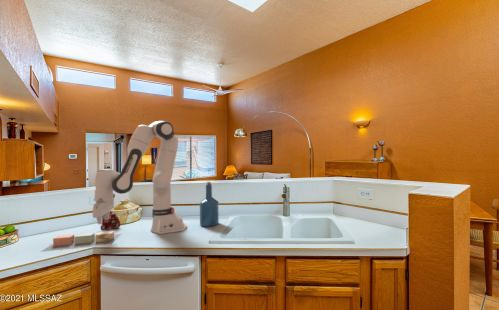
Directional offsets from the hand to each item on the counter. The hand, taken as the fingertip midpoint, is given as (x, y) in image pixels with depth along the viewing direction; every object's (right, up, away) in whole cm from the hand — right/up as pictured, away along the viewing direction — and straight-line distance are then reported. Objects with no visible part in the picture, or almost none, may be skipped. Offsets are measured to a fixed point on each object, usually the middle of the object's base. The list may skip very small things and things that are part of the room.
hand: (103, 221), depth 126 cm
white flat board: (-9, -12, -2) cm, 15 cm away
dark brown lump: (-10, -12, +23) cm, 28 cm away
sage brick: (-9, -11, -2) cm, 14 cm away
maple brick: (+1, -11, 0) cm, 11 cm away
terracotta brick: (-19, -11, -4) cm, 22 cm away
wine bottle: (+55, -11, +30) cm, 64 cm away
